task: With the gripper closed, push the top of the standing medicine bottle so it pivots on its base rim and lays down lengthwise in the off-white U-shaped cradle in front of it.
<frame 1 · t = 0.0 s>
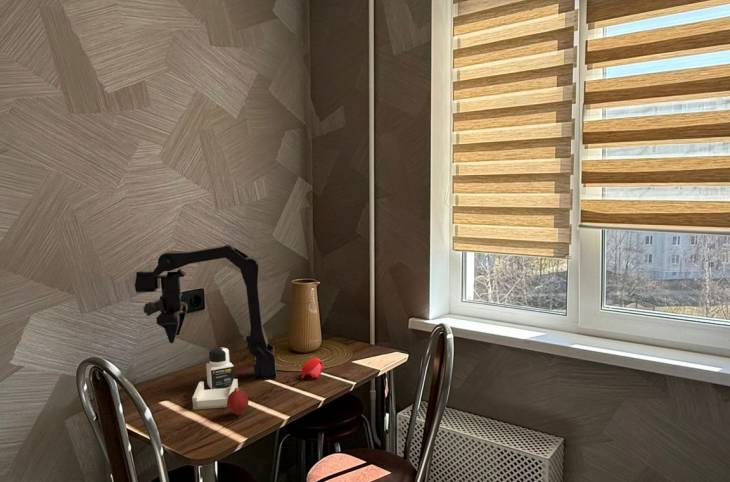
hand: (174, 338, 184), 15 cm above the table, tool pointing down, fingers open, 9 cm apart
cradle: (216, 399, 171), on the table
cap: (312, 377, 187), on the table
red rounded lump: (238, 415, 159), on the table
medicine bottle: (221, 386, 182), on the table
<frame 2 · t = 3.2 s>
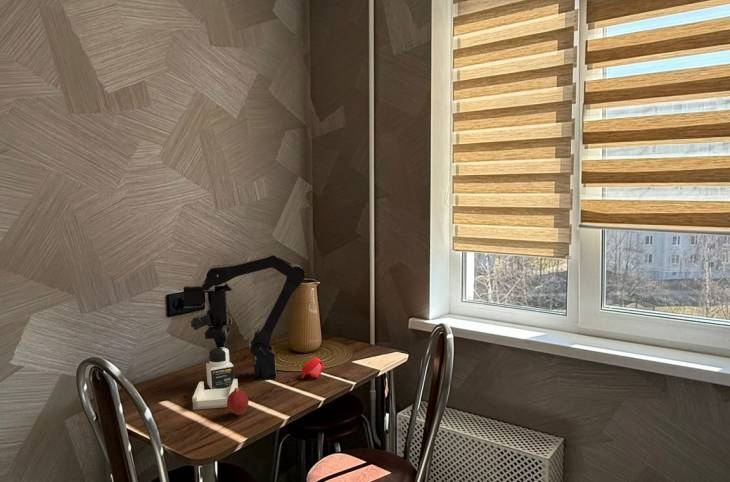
hand: (220, 352, 185), 10 cm above the table, tool pointing down, fingers closed
medicine bottle: (221, 386, 182), on the table, touching gripper
everything else where it was.
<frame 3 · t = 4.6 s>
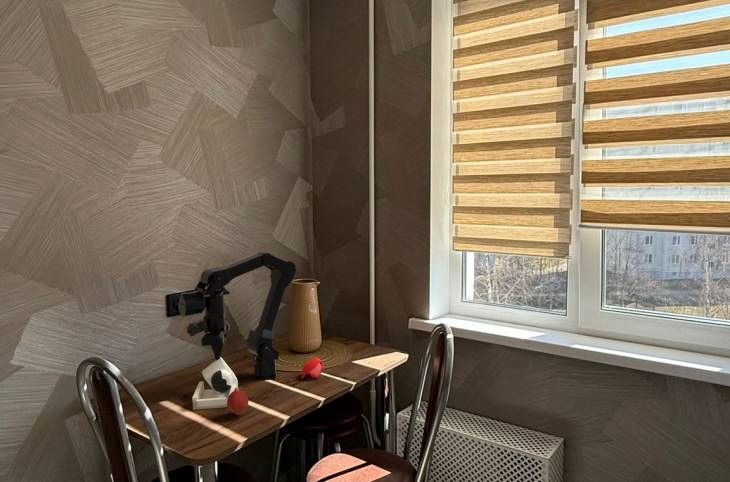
hand: (217, 359, 178), 10 cm above the table, tool pointing down, fingers closed
medicine bottle: (217, 372, 179), point 5 cm above the table, touching cradle, gripper
everything else where it was.
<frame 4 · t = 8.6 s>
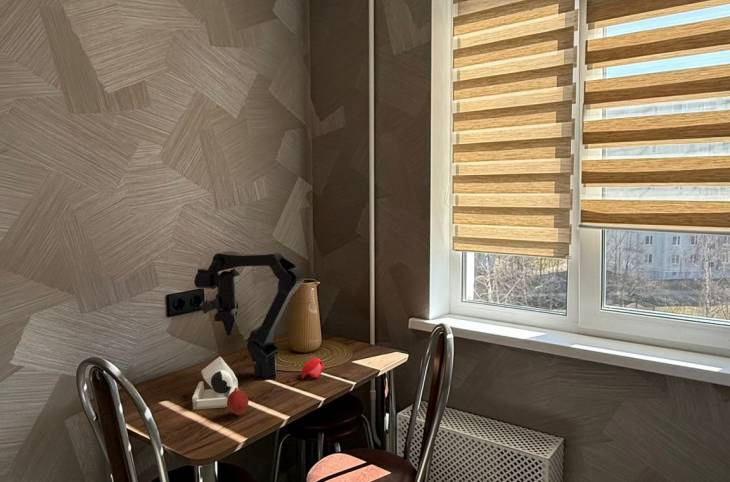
hand: (228, 335, 192), 13 cm above the table, tool pointing down, fingers closed
medicine bottle: (217, 371, 179), point 6 cm above the table, touching cradle
everything else where it was.
at the end: medicine bottle tilted 90°; medicine bottle touching cradle; medicine bottle inside the target area (8.3 cm from its centre), point 5.6 cm above the table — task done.
